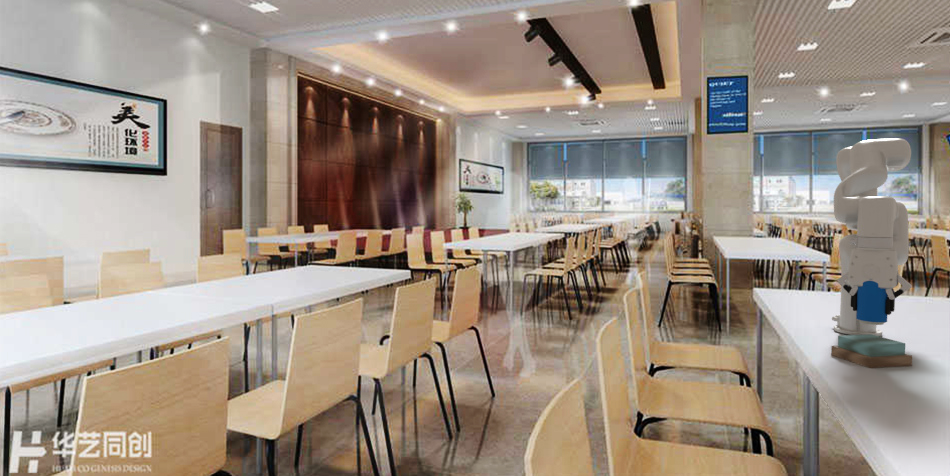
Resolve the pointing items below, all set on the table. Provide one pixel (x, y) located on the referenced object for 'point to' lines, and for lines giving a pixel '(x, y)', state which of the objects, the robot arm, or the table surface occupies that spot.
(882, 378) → the table surface
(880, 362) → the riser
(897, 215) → the robot arm
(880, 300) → the beverage can
